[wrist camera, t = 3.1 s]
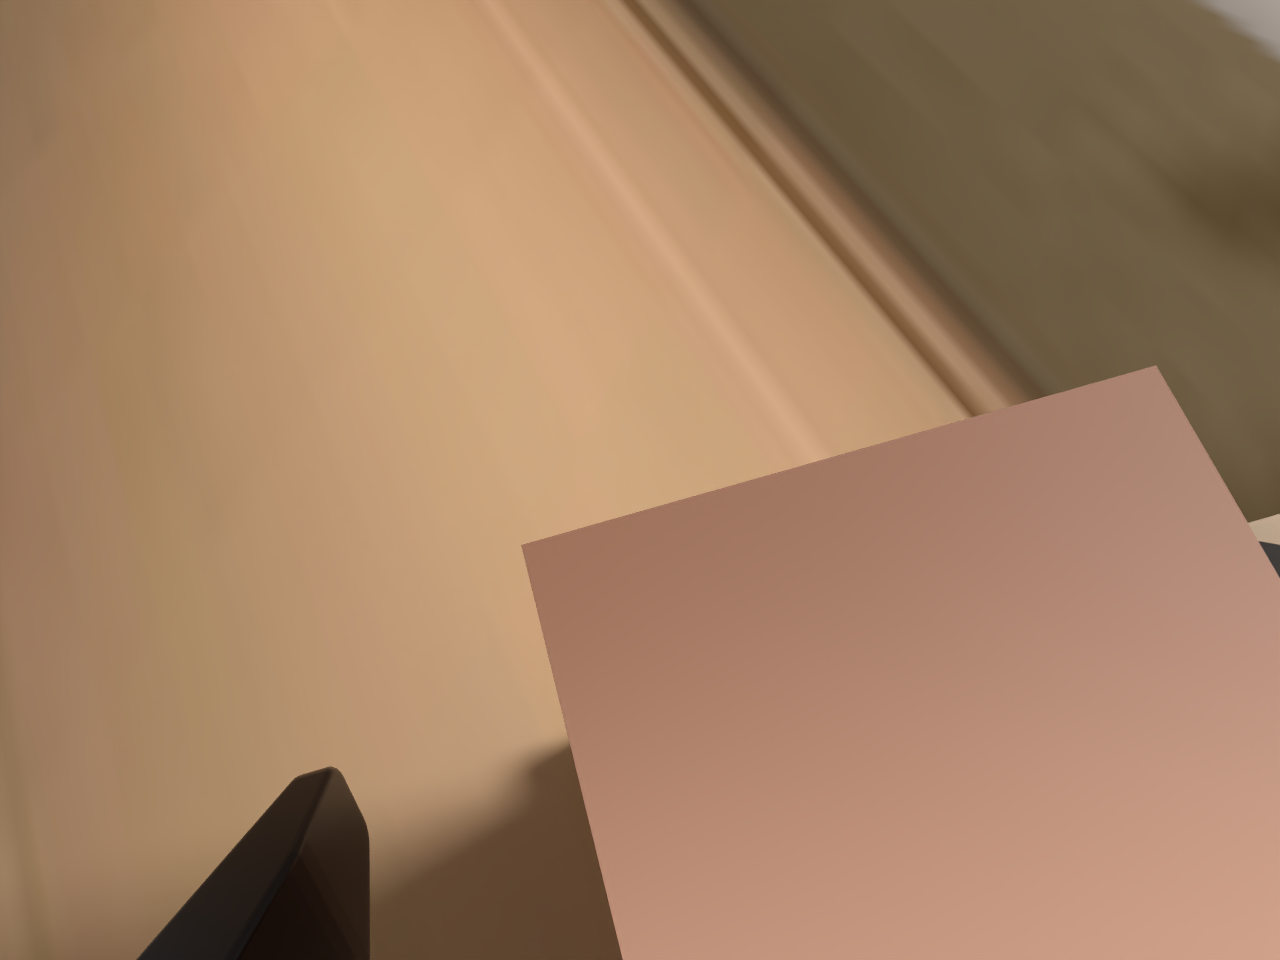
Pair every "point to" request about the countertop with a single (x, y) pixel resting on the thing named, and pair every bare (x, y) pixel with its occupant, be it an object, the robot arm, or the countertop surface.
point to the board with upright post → (935, 699)
